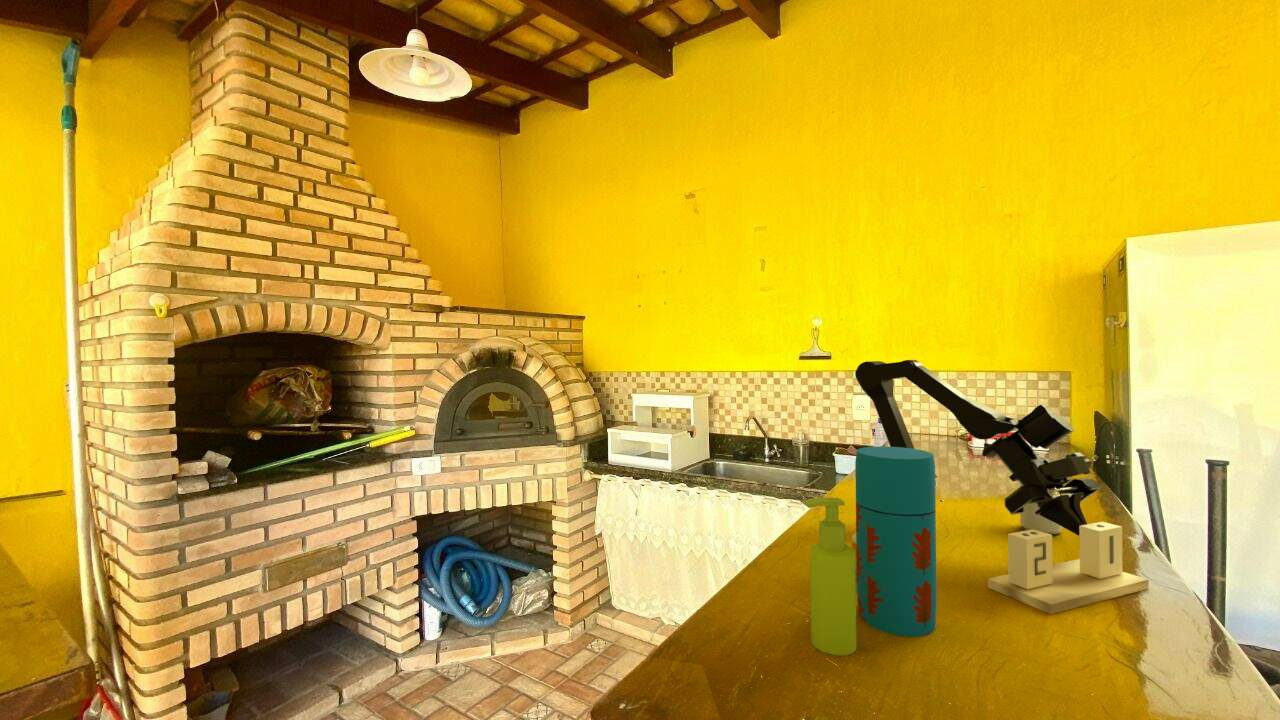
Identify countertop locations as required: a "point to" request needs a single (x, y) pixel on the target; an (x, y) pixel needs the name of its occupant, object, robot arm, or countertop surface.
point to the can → (1037, 520)
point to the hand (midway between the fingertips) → (1089, 537)
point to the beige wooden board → (1070, 588)
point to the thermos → (896, 539)
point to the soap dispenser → (832, 583)
